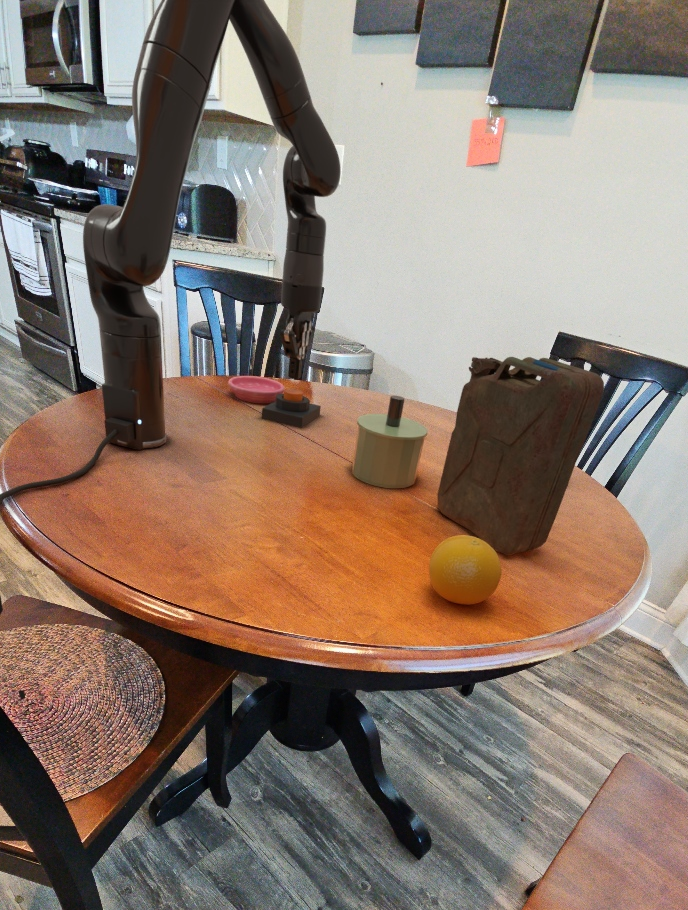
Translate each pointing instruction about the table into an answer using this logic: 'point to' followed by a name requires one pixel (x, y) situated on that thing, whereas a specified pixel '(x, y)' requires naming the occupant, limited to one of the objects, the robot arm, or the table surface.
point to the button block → (291, 411)
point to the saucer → (255, 389)
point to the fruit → (464, 569)
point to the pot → (386, 460)
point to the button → (293, 395)
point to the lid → (393, 423)
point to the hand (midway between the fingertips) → (294, 377)
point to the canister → (516, 448)
